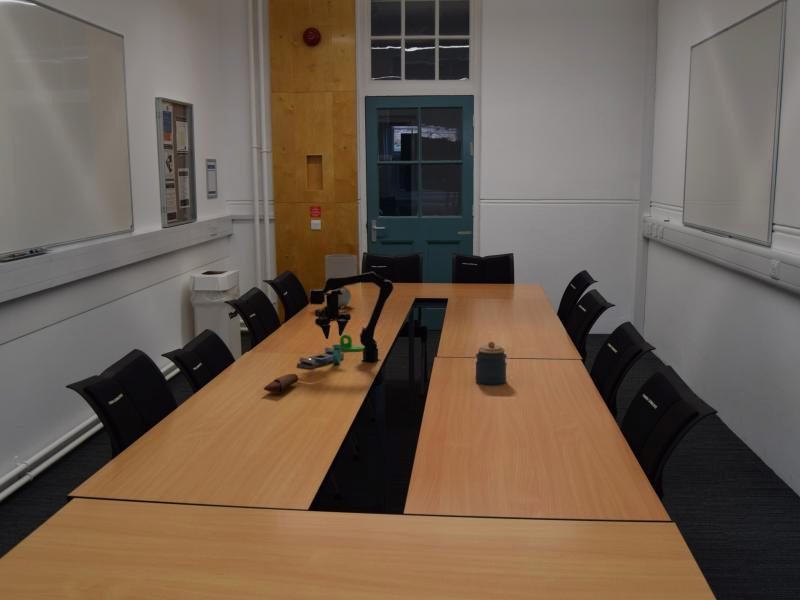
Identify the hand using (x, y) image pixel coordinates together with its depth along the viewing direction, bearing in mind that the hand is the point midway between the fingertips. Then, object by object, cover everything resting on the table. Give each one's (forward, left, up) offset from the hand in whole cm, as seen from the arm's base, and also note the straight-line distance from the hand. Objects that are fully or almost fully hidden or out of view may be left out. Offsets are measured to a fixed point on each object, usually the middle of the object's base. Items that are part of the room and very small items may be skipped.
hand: (333, 337), depth 376 cm
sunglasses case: (-11, +50, -12) cm, 52 cm away
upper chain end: (+3, +6, -12) cm, 13 cm away
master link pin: (-5, +4, -12) cm, 13 cm away
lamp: (+88, -115, -12) cm, 146 cm away
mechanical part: (+8, -23, -12) cm, 27 cm away
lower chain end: (+3, +6, -12) cm, 13 cm away
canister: (-79, -7, -12) cm, 80 cm away
